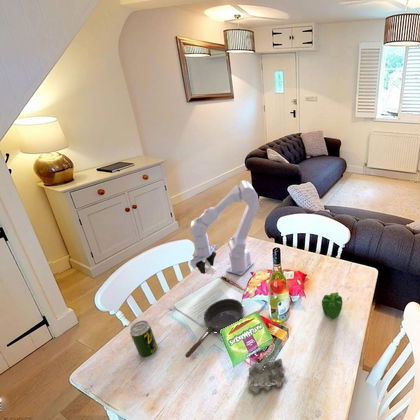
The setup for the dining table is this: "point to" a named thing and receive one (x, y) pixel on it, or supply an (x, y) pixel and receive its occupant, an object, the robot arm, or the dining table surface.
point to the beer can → (143, 339)
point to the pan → (223, 314)
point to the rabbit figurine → (209, 268)
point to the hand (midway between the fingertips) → (207, 269)
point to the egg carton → (266, 375)
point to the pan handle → (199, 342)
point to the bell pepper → (332, 305)
